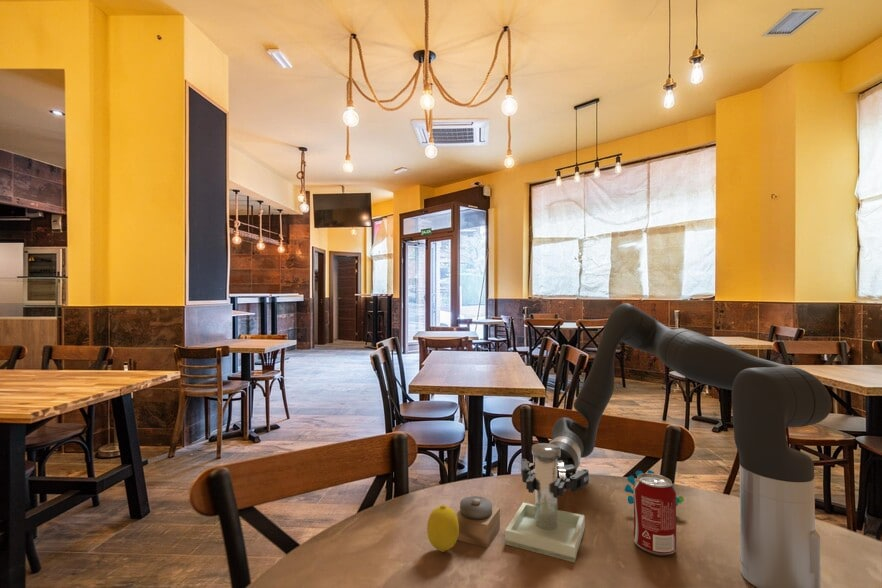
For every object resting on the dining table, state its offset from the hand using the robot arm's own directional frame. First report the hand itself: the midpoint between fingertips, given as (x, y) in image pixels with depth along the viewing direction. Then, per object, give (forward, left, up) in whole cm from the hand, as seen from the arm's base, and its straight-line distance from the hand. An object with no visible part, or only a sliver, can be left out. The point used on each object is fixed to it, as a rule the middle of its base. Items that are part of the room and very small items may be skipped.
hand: (542, 489), depth 77 cm
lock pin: (0, -3, -7) cm, 8 cm away
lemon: (+15, +10, -10) cm, 21 cm away
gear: (-18, -22, -10) cm, 30 cm away
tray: (0, -3, -10) cm, 10 cm away
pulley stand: (+12, +2, -10) cm, 16 cm away
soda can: (-18, -8, -10) cm, 22 cm away
